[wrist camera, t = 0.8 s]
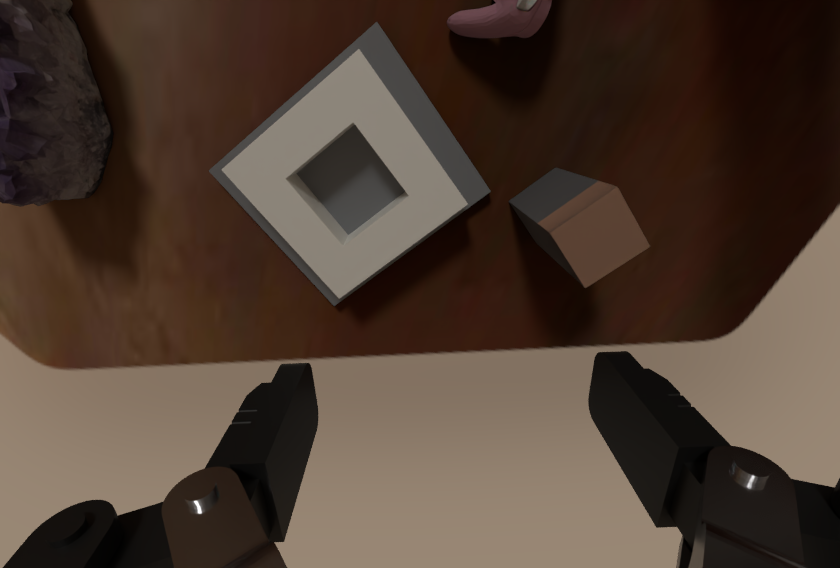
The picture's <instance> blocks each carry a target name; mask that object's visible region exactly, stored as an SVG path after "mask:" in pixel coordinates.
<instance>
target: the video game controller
mask: <svg viewBox="0 0 840 568" xmlns="http://www.w3.org/2000/svg"><path fill="white" fill-rule="evenodd" d="M494 1H495V2H496V3H495V4H493V5H491V6H487V7H484V8H480V9H472V10H464V11H459V12H457V13H455V14H453V15H452V16H451V17H450V18H449V19H448V21H447V25H448V27H449V28H450V29H451V30H452V31H453V32H455V33H456V34H458V35H461V36H466V37H472V38H500V37H511V36H517V37H521V38H528V37H531V36H532V35H534V34H535V33H536V32H537V31H538V30H539V28H540V27H541V26H542V24H543V22H544V21H545V19H546V17H547V15H548V13H549V10H550V7H551V3H552V0H494Z"/></svg>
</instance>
